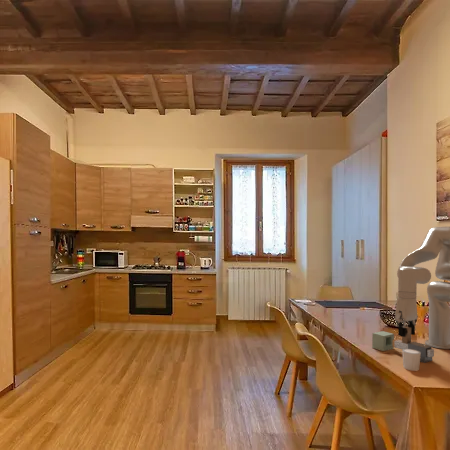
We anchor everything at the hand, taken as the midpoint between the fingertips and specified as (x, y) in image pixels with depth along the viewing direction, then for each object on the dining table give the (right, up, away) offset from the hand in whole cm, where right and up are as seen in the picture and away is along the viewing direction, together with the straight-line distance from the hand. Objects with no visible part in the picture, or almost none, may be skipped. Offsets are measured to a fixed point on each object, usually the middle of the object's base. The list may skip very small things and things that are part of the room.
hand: (406, 334), depth 174 cm
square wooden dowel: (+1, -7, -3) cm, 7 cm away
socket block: (-7, -9, +10) cm, 15 cm away
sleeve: (+3, -9, -5) cm, 11 cm away
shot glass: (-6, -9, -17) cm, 21 cm away
